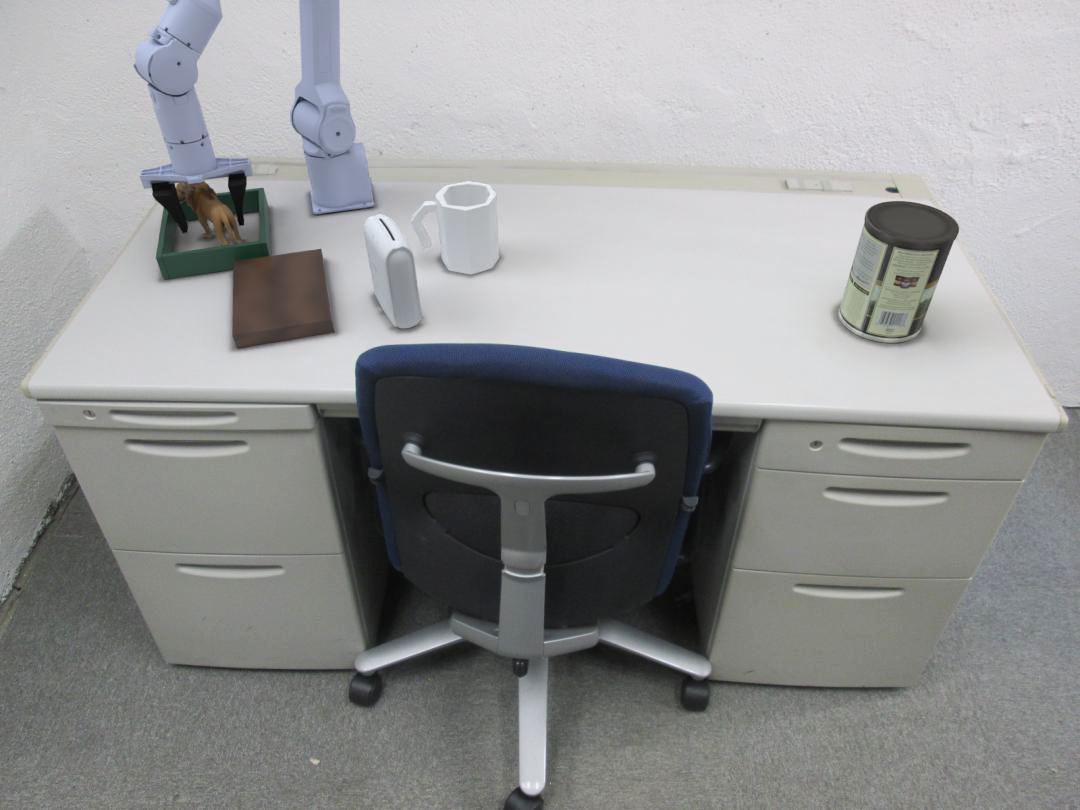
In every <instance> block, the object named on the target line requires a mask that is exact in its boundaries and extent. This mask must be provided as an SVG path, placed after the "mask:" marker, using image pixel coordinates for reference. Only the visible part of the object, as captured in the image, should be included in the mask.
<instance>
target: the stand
mask: <svg viewBox="0 0 1080 810" xmlns="http://www.w3.org/2000/svg"><path fill="white" fill-rule="evenodd" d="M325 266H326V265H325V259H324V255H323V251H322V248H316V249H315V248H314V249H310V250H309V249H308V250H303V251H295V252H289V253H288V252H287V253H281V254H275V255H271V256H267V257H260V258H253V259H246V260H239V261H233V269H232V330H231V331H232V333H231V335H232V339H233V342H234V345H235V348H236V349H241V348H246V347H252V346H258V345H265V344H271V343H277V342H282V341H283V342H284V341H289V340H294V339H300V338H301V339H302V338H306V337H313V336H318V335H325V334H330V333H335V326H334V319H333V311H332V306H331V299H330V293H329V285H328V279H327V272H326V267H325Z"/></svg>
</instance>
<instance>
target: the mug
mask: <svg viewBox="0 0 1080 810" xmlns="http://www.w3.org/2000/svg"><path fill="white" fill-rule="evenodd" d="M434 197H435V200H434V201H433V200H425V201H424V202H422V204H421V205H420V206H419V207H418V209H417V210H416V211H415V212H414V213H413V214H412V215H411V219H410V224H411V226H412V229H413V231H414V233H415V235H416V238H417V239H418V241H419V243H420V247H422V250H427V249H429V248H430V247H432V238H431V236H430V235H429V232H428V231H427V229H426V227H425V226H424V224H423V222H422V221H423V219H424V218H425V217H426V215H427V214H428V213H436V217H437V229H438V237H439V246H440V247H439V249H440V256H441V260H442V262H443V264H444V265H445V267H446V269H447V270H448V271H449V272H453V273H454V272H455V273H460V274H465V275H470V276H471V275H476V274H479V273H482V272H485V271H488V270H492V269H493V268H494V266H495V265H496V263H497V261H499V259H500V243H499V242H500V241H499V240H500V239H499V217H498V200H497V199H498V197H497V192H496V191H495V190H494V189H493V187H492V186H491V184H488V183H484V182H483V183H482V182H477V181H470V180H467V181H462V182H457V183H456V182H455V183H451V184H446V185H444V186H442V188H440V190H438V192H436V194H435V195H434Z"/></svg>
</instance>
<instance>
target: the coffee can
mask: <svg viewBox="0 0 1080 810" xmlns="http://www.w3.org/2000/svg"><path fill="white" fill-rule="evenodd" d="M959 233H960V226H959V224H958V222H957V221H956V219H954V217H953V216H951V215H950V214H948V213H947V212H945V211H943V210H942V209H939V208H937V207H934V206H931V205H928V204H924V203H920V202H914V201H905V200H904V201H903V200H889V201H884V202H878V203H876V204H873V205H872V206H870V207H869V208H868V209H867V210H866V212H865V215H864V222H863V226H862V229H861V233H860V237H859V240H858V243H857V247H856V250H855V255H854V257H853V260H852V264H851V268H850V270H849V274H848V279H847V282H846V285H845V288H844V291H843V295H842V299H841V303H840V306H839V307H838V310H837V317H838V319H839V321H840V322H841V324H842V325H843V326H844V327H845V328H846V329H847V330H849V331H850V332H851V333H853V334H854V335H856V336H859V337H861V338H864V339H866V340H870V341H872V342H879V343H886V344H895V343H904V342H907V341H911V340H912V339H915V338H916V337H917V336H918V335H919V334H920V332H921V331H922V327H923V324H924V321H925V317H926V315H927V313H928V310H929V307H930V305H931V302H932V299H933V297H934V294H935V292H936V289H937V287H938V284H939V281H940V279H941V276H942V273H943V271H944V268H945V266H946V263H947V260H948V258H949V255H950V252H951V250H952V247H953V244H954V242H955V240H956V239H957V237H958V235H959Z"/></svg>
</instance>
